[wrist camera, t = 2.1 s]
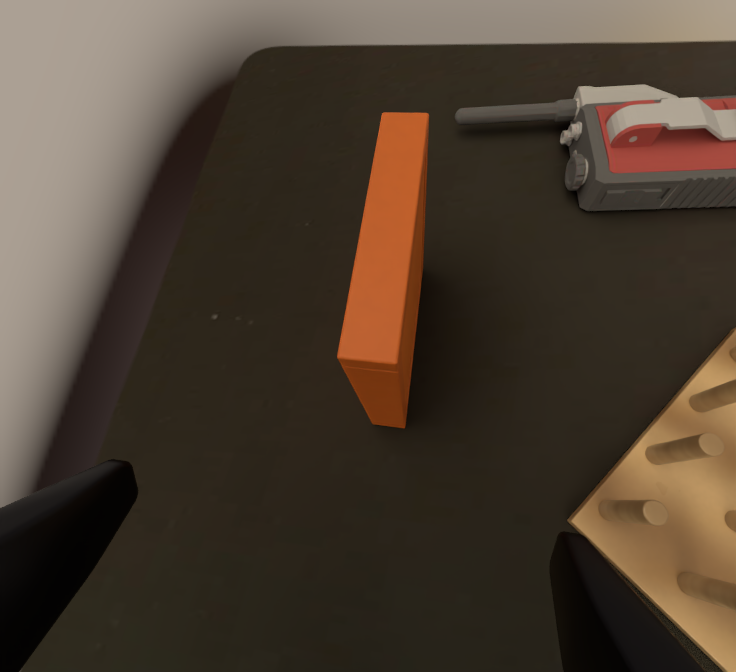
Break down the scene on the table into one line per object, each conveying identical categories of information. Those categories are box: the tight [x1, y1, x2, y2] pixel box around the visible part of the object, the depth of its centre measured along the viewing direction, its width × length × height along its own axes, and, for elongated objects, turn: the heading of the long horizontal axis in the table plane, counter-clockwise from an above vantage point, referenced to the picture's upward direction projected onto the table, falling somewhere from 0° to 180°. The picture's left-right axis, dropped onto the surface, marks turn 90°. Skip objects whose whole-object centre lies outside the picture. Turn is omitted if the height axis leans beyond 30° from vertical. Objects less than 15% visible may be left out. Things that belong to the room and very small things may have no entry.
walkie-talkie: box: [455, 85, 736, 211], centre depth 25 cm, size 9×4×20 cm
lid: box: [337, 113, 429, 428], centre depth 18 cm, size 10×2×11 cm, turn 172°
